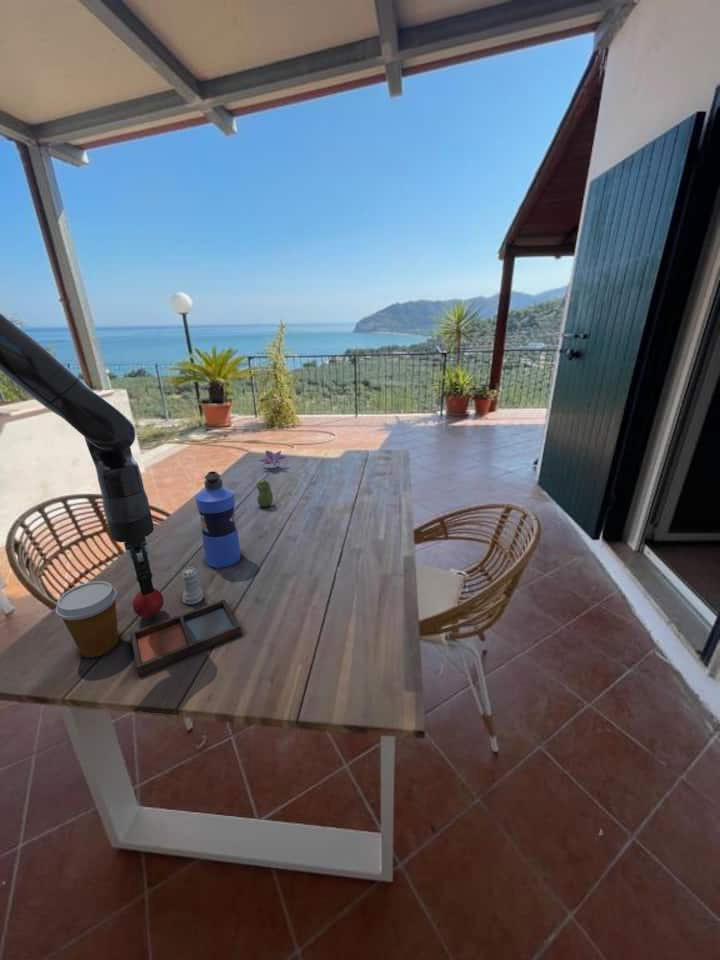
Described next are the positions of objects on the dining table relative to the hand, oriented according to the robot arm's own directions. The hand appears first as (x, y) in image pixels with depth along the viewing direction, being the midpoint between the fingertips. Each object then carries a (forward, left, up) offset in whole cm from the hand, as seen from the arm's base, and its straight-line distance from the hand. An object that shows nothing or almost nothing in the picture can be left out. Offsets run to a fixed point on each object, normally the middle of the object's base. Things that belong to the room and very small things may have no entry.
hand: (144, 582), depth 81 cm
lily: (+62, +80, -9) cm, 101 cm away
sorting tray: (+5, -11, -9) cm, 15 cm away
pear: (+43, +42, -9) cm, 61 cm away
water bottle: (+20, +15, -9) cm, 26 cm away
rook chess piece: (+9, +1, -9) cm, 13 cm away
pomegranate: (0, 0, -9) cm, 9 cm away
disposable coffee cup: (-10, -4, -9) cm, 14 cm away
